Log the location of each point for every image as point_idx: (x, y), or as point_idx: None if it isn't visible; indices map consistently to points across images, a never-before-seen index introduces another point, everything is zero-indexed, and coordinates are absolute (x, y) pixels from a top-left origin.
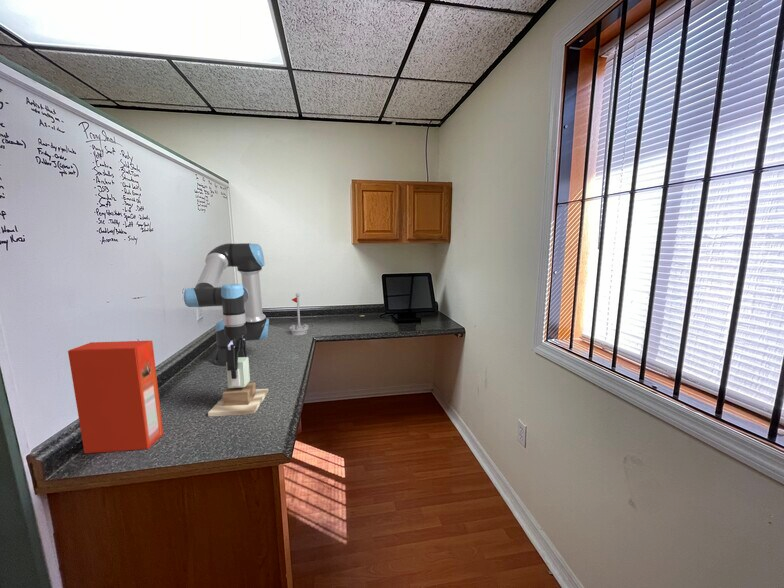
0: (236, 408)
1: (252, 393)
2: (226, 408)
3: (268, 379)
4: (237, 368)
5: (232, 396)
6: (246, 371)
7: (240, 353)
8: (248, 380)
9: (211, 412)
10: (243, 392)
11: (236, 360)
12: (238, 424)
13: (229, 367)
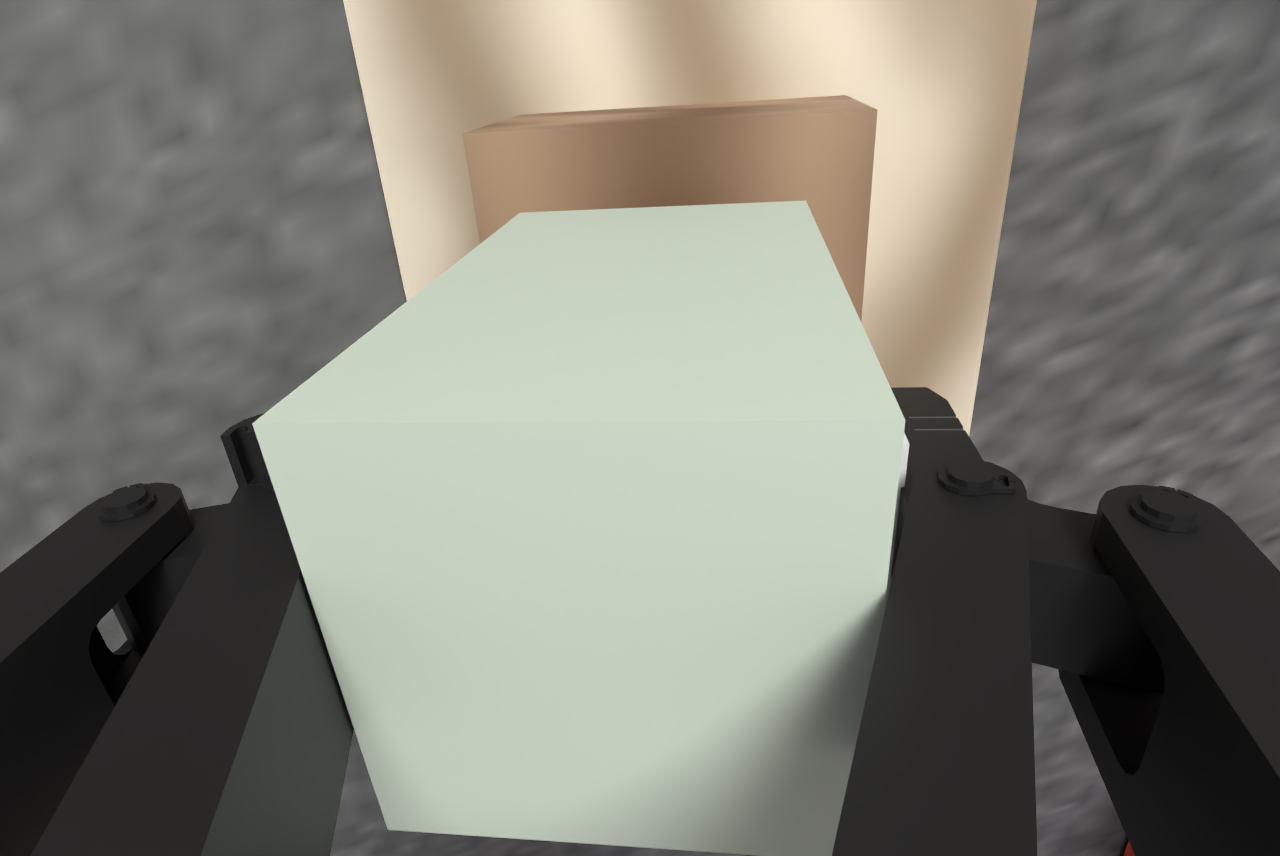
0: (928, 220)
1: (650, 112)
2: (900, 343)
3: (8, 149)
4: (948, 470)
5: None
6: (624, 274)
7: (285, 774)
8: (586, 216)
9: None
10: (871, 182)
11: (1023, 684)
12: (1268, 49)
13: (1162, 684)
